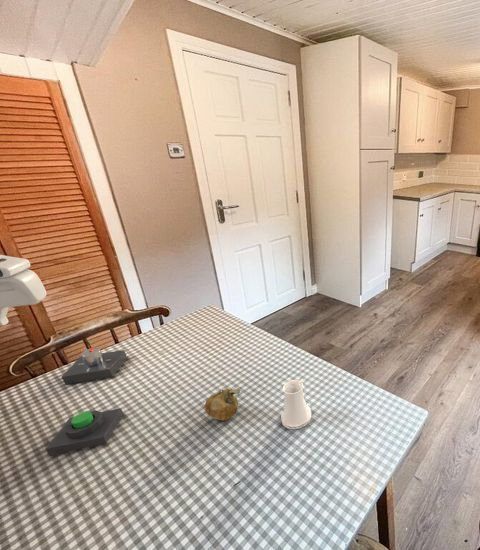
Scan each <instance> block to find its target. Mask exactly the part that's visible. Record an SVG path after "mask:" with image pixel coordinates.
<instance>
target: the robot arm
mask: <svg viewBox="0 0 480 550" xmlns="http://www.w3.org/2000/svg"><path fill="white" fill-rule="evenodd" d="M31 266H32V265H31V262H30V261H29V259H28V258H23V257H16V256H10V255H4V254H0V327H2V326H6V325H7V324H9V319H8V317H7V315H8V314H9V313H8V312H9V310H10V308H13V307H14V308H15V307H23V306H32V305H33V306H34V305H37V304H39V303H40V302H42V301H43V300H45V299H46V297H47V290H46V288H45V285H44V284H43V282H42V280H41V278H40V277H39V275H38V274H37V273H36V272H35V271H33V270H31V269H29V268H31Z"/></svg>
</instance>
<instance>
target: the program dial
mask: <svg viewBox="0 0 480 550" xmlns="http://www.w3.org/2000/svg"><path fill="white" fill-rule="evenodd" d="M102 353H103V352H102V350H101V348H100V347H98V346H97V347H96V346H92V347H89V348H88V349H85V350H84V351H82V352H81V353H80V357H81V356H82V359H83V361H84V363H85V365H86V366H87V367H91V366H95V365H98V364H100V363H101V362H103V360H104V358H103V356H102Z"/></svg>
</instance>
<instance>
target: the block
mask: <svg viewBox="0 0 480 550" xmlns="http://www.w3.org/2000/svg"><path fill="white" fill-rule="evenodd" d="M89 411H90V412H91V413H92V416H93V418H94V419H93V421H92V422H91V423H90V424H88V425H87V426H84V427H82V428H79V429H75V428H74V427H73V425H72V423H71V420H72V419H73V417H74V416H71V417H69V418H68V420H66V422H65V423H64V424H63V426H62V427H61V428H60V429H59V431H58V432H57V434H55V436H54V437H53V438H52V440H51V441H50V443H49V444H48V445H47V447H46V448H45V450H46V453H47V454H48V456H55V455H59V454H64V453H69V452H74V451H78V450H82V449H88V448H93V447H97V446H102V445H107V444H108V442H109V440H110V438H111V437H112V435H113V433H114V431H115V430H116V428H117V426H118V425H119V423H120V421H121V420H122V417H123V416H124V412H123V409H122V408H121V407H119V408H114V409H108V410H103V411H99V410H95V409H94V410H89Z"/></svg>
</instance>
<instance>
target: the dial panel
mask: <svg viewBox="0 0 480 550" xmlns="http://www.w3.org/2000/svg"><path fill="white" fill-rule="evenodd" d="M101 353H102V356H103V358H104V360H103V362H101V363H100V364H98V365H95V366H91V367H87V366H86V365H85V363H84V361H83V359H82V356H81V355H80V356H79V358H78V359H77V360H75V362H74V363H73V364H72V365H71V366H70V367H69V368H68V369H67V370H66V371H65V372H64V373H63V374H62V375H61V379H62V381H63V383H64V385H65V386H66V385H71V384H72V385H73V384H79V383H83V382H90V381H96V380H102V379H109V378H114V377H115V375H116V374H117V373H118V371H119V370H120V368H121V367H122V365H123V364H124V363H125V361H126V360H127V358H128V356H127V353H126V350H125V349H120V350H115V351H107V352H101Z"/></svg>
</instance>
